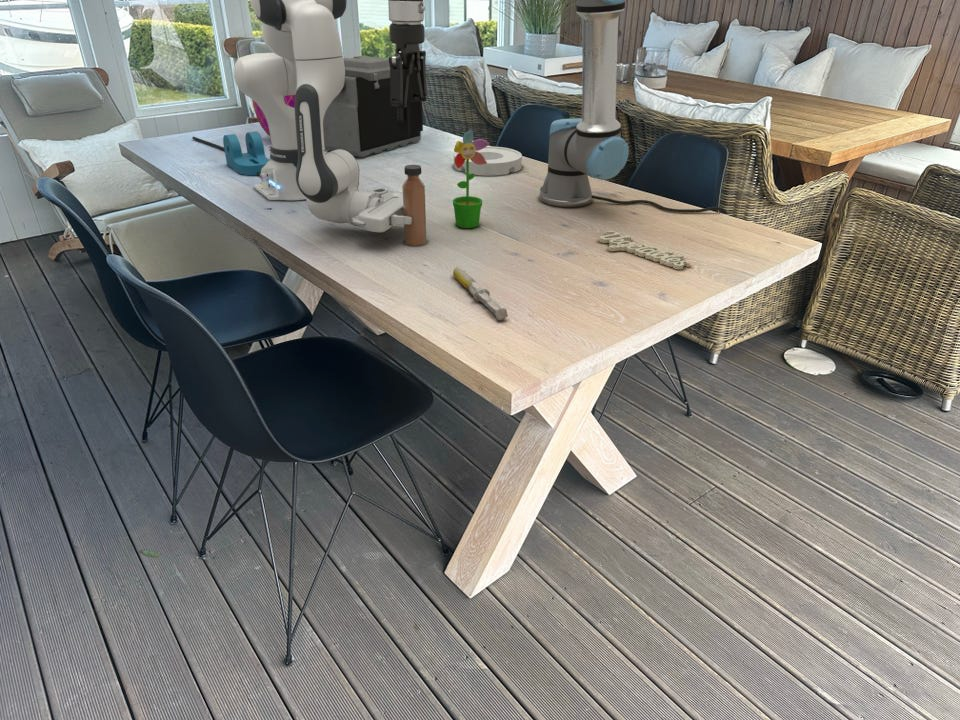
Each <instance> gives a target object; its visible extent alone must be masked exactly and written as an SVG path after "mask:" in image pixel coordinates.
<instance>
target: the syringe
mask: <svg viewBox="0 0 960 720" xmlns="http://www.w3.org/2000/svg"><path fill="white" fill-rule="evenodd" d="M452 274H453V277H454V279H455V280H457V281H458V282H459V283H460V285H462V287H464V289H466V290H467V291H468V293H470V295H471V296H472V298H473V300H474V302H477V303H478V302H480V303H482V304H483V305H484V306H485V307H486V308H487V309H488V310H489V311H490V312H491V313H492V314H493V315H494V316H495V317H496V320H497V321H503V320H504V319H506V318H507V317H509V314H508V310H507V308H506V307H502V306H501V305H500V303H498V302H497V301H496V300H494V299H493V298H492V297H491V296H490V295H491V293H490V290H488V289H486V288H483V287H482V286H481V285H480V284H479V283H478V282H477V281H476V280H474V278H473V277H471V275H469V274H468V273H467V272H466V270H465V269H464V268H463V267H462V266H456V267H454V268H453V271H452Z"/></svg>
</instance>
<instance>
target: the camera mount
mask: <svg viewBox="0 0 960 720" xmlns="http://www.w3.org/2000/svg"><path fill="white" fill-rule="evenodd" d="M222 140H223V141H222V143H223V147H224V150H225V151H224V150H223V151H224V156H225V161H226V165H227V166H228V167H230V168H231V169H232V170H234V171H236V172H237V173H238V174H239V175H244V176H258V175H257V172H260V173H261V169H262V168H263V167H264V166H265V165H266V164H267V162H268V161H269V160H270V158H268V157H267V156H266V153H265V145H264V141H263V139H262V136H261V134H260V132H258V131H247V132H246V133H245V146H246V152H243V151H242V150H243V149H242V146H241V142H240V140H239V138H238V135H236V134H235V133H231V134H224V135H223V138H222Z"/></svg>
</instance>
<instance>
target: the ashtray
mask: <svg viewBox="0 0 960 720" xmlns="http://www.w3.org/2000/svg"><path fill="white" fill-rule="evenodd" d="M477 152H479V153H480V154H482V156H483V157H484V158H485V160H486V162H487V163H486V164H482V165H478V164H475V163H474V162H472V161H471V159H469V174H475V176H483V177H485V176H487V177H489V176H490V177H491V176H492V177H493V176H503V175H504V176H505V175H509V174H510V173H517V172H519V171H520V170H521V169H522V165H523V164H522V163H523V162H522V161H523V154H522V153H521V152H520V151H518V150H515V149H513V148H509V147H502V146H490V145H488V146H486V147H485V148H483V149H481V150H478V151H477ZM457 154H459V153H457V152H455V151H454V152H453V169H455V170H456V171H458V172H464V173H465V174H466V159H465V162H464V164H463V165H462V166H461V167H460V168H457V166H456V164H455V157H456V156H457Z"/></svg>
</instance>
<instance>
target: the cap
mask: <svg viewBox="0 0 960 720" xmlns="http://www.w3.org/2000/svg"><path fill="white" fill-rule="evenodd" d="M403 169H404V170H403V171H404V175H406V176H407V175H408V176H417V175H419V176H420V175H422V166H421V165H420V164H406V165H405V166H404V168H403Z"/></svg>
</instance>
